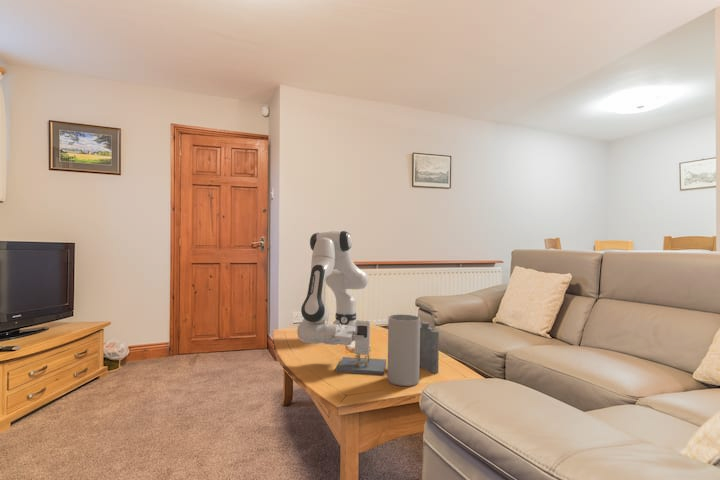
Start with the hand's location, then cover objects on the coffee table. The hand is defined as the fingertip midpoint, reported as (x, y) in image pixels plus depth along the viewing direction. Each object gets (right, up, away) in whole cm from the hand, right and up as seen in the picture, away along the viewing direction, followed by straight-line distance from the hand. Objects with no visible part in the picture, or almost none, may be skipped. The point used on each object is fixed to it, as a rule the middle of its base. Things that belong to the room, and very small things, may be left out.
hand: (364, 336), depth 158 cm
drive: (-1, -8, 0) cm, 8 cm away
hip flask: (+26, -14, 0) cm, 30 cm away
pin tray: (-1, -14, 0) cm, 14 cm away
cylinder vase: (+15, -14, -15) cm, 26 cm away
